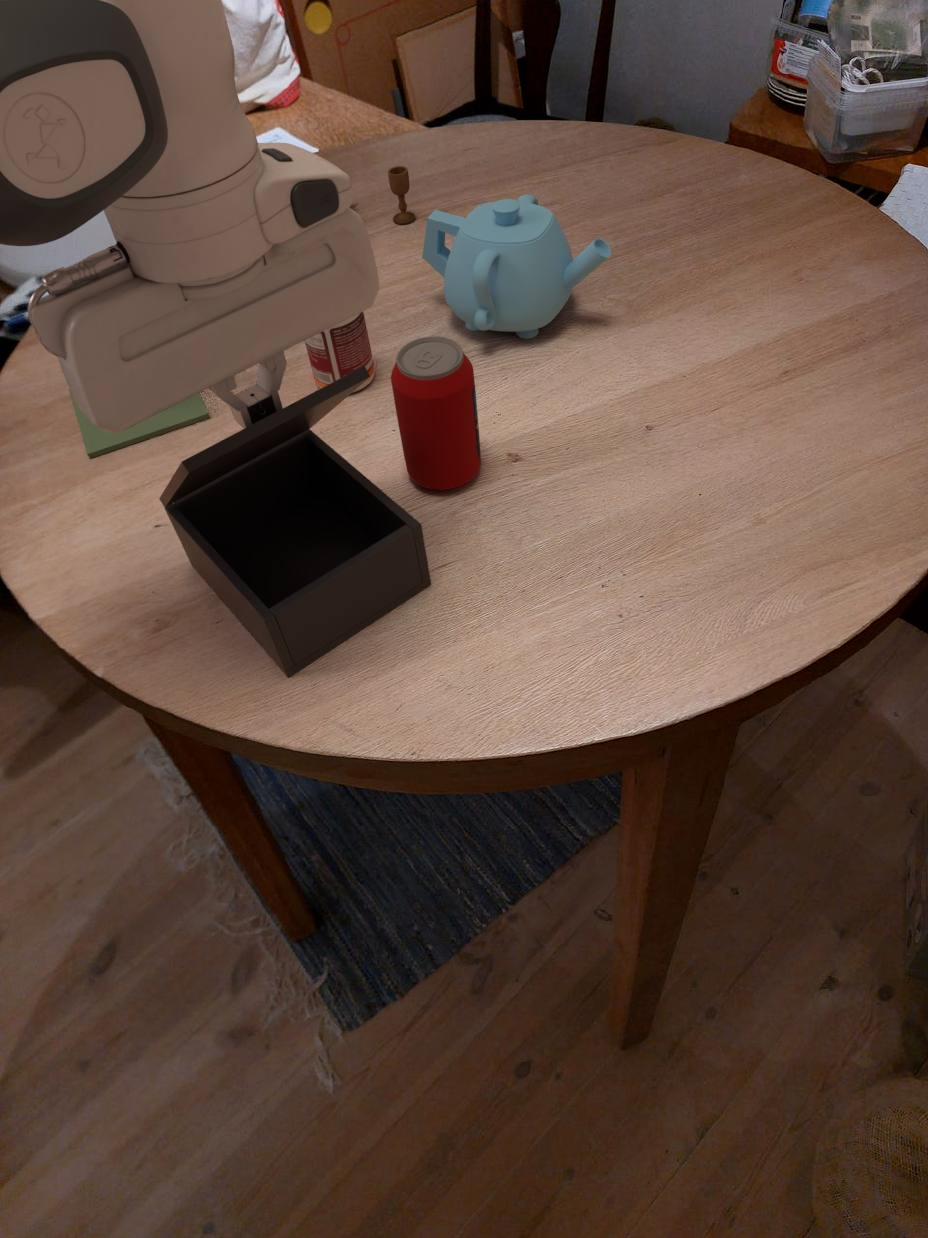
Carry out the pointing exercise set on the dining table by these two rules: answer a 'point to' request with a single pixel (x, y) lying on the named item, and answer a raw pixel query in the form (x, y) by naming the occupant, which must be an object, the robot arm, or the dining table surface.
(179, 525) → the black keepsake box
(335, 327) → the pill bottle
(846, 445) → the dining table surface
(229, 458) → the dark hinged box lid
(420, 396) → the beverage can
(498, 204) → the teapot
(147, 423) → the mat
